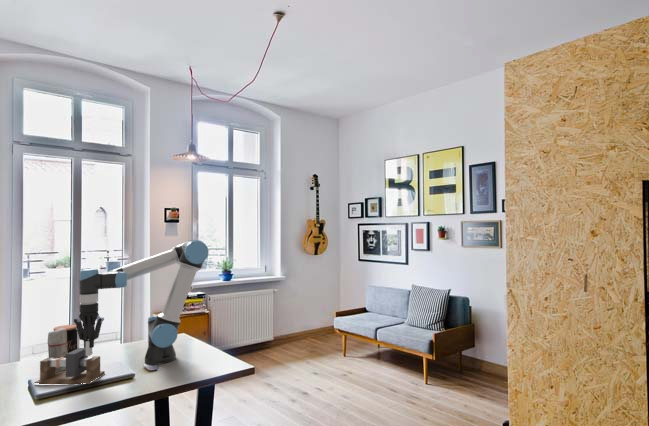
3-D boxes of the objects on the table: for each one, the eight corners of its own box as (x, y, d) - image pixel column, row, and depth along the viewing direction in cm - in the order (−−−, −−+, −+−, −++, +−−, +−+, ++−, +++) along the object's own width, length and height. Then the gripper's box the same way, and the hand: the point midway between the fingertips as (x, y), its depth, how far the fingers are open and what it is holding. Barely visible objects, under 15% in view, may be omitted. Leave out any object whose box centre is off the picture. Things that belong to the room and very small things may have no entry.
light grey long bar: (95, 364, 191) (95, 356, 191) (91, 366, 188) (91, 358, 188) (50, 365, 192) (50, 357, 192) (45, 367, 188) (45, 359, 188)
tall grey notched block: (87, 369, 194) (87, 347, 195) (74, 376, 184) (74, 354, 185) (79, 369, 194) (79, 347, 195) (65, 377, 184) (65, 354, 185)
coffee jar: (52, 366, 209) (52, 330, 210) (54, 360, 219) (54, 326, 220) (76, 362, 214) (76, 327, 215) (78, 357, 224) (78, 323, 225)
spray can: (58, 373, 199) (58, 331, 199) (43, 372, 200) (44, 330, 201) (72, 367, 207) (72, 327, 208) (58, 366, 208) (58, 326, 209)
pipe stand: (104, 374, 196) (104, 353, 196) (88, 384, 183) (88, 362, 183) (54, 375, 196) (54, 354, 196) (34, 385, 183) (34, 363, 183)
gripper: (107, 301, 194) (107, 352, 193) (79, 301, 194) (79, 352, 193) (98, 304, 187) (98, 357, 186) (69, 304, 187) (69, 357, 186)
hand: (88, 355), depth 189 cm, fingers closed
